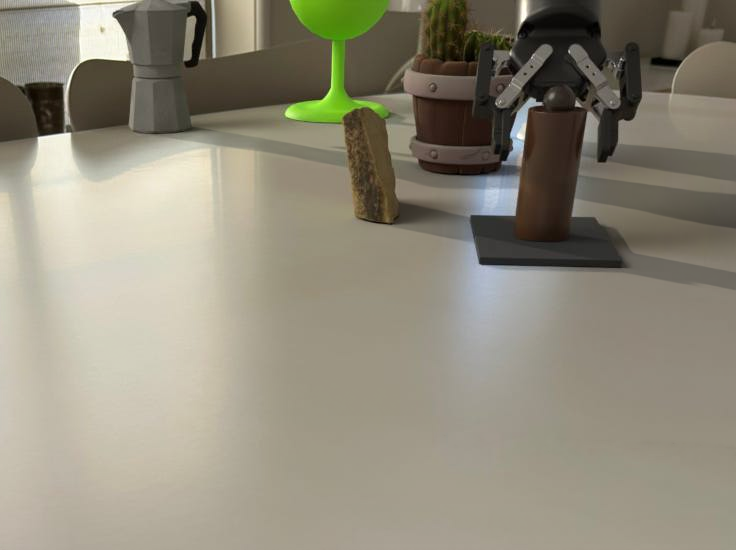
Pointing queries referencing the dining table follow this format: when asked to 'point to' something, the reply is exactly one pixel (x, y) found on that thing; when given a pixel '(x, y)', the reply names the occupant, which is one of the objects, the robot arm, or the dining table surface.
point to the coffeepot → (160, 62)
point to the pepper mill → (550, 167)
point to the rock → (370, 166)
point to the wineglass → (336, 52)
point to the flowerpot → (452, 92)
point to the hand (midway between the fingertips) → (553, 156)
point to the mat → (542, 244)
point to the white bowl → (522, 132)
